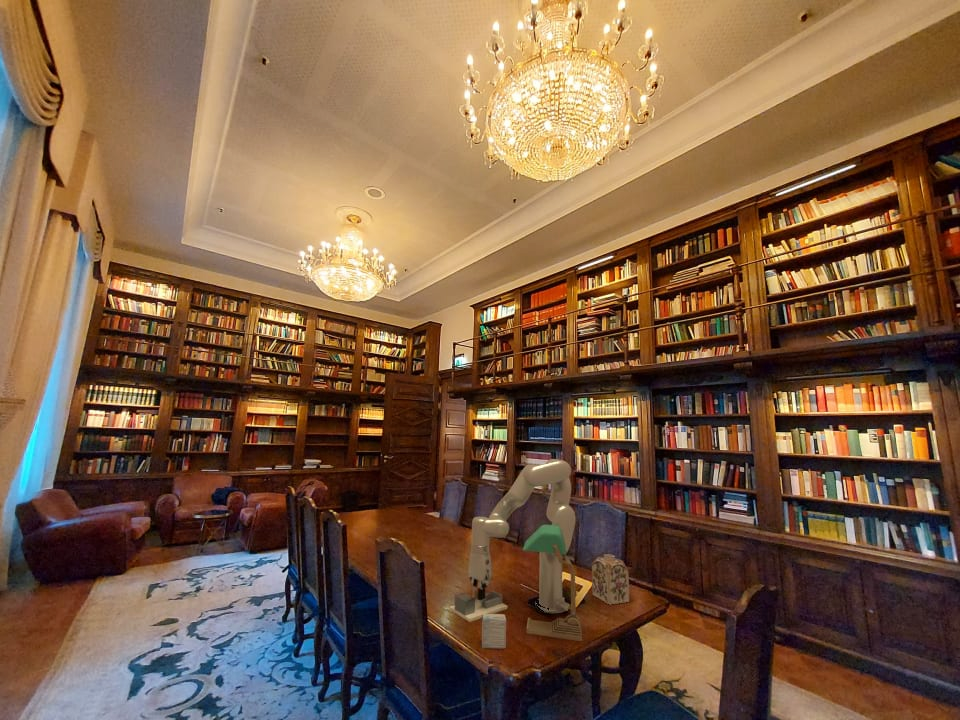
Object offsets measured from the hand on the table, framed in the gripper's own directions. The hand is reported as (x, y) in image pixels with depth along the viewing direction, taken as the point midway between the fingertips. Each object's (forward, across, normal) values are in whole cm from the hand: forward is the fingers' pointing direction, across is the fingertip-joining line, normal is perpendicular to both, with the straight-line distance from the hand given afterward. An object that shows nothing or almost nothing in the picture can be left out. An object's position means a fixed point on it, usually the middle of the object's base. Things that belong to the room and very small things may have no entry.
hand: (478, 597), depth 153 cm
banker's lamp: (+5, -30, -10) cm, 32 cm away
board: (+4, 0, 0) cm, 4 cm away
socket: (+3, 0, +7) cm, 8 cm away
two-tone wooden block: (+3, 0, +3) cm, 5 cm away
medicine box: (+5, -24, +14) cm, 28 cm away
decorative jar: (+5, -26, -56) cm, 62 cm away
